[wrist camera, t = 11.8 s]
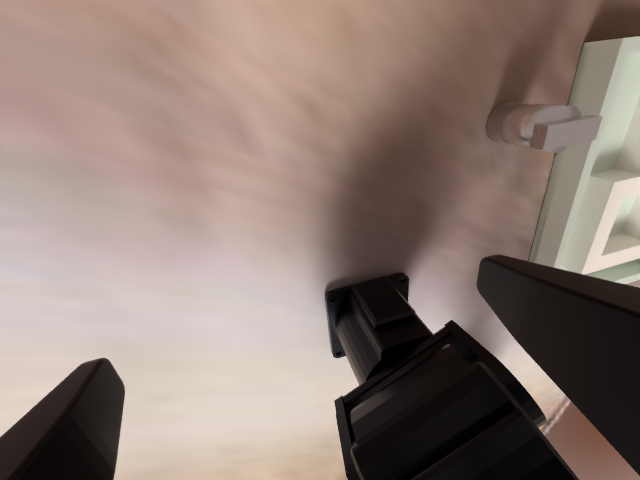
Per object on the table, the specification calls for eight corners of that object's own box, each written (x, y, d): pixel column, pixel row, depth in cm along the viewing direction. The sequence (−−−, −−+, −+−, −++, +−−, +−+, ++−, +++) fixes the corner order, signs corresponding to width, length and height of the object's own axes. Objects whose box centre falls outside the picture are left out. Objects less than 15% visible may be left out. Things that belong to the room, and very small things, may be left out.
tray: (631, 262, 31) (658, 273, 29) (519, 295, 29) (540, 310, 27) (737, 24, 22) (785, 18, 20) (583, 42, 19) (623, 38, 17)
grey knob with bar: (516, 137, 21) (591, 151, 17) (473, 145, 20) (540, 161, 16) (524, 99, 20) (606, 103, 16) (478, 106, 19) (551, 112, 15)
